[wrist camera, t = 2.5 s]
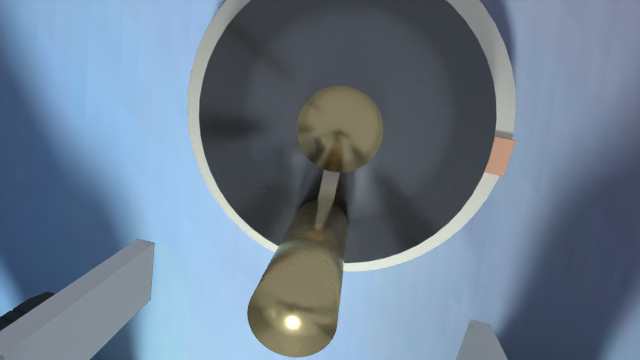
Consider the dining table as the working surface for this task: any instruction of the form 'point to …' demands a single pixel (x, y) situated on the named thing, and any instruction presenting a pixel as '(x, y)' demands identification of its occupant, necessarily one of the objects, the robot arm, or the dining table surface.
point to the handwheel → (342, 142)
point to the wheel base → (501, 70)
